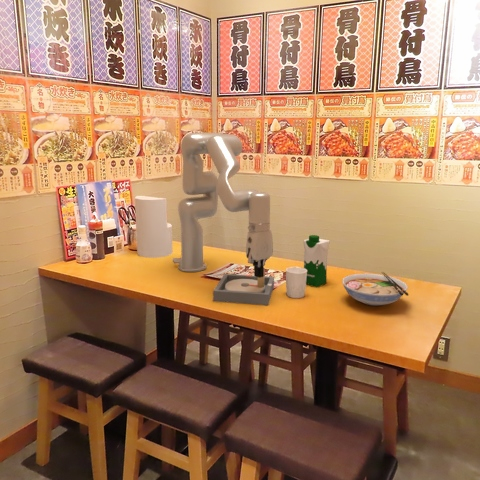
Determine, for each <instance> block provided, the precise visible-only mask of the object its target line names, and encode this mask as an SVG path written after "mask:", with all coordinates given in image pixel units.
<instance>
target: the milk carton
mask: <svg viewBox="0 0 480 480" xmlns="http://www.w3.org/2000/svg"><path fill="white" fill-rule="evenodd" d="M330 242H331V240H329V239H324V238H320V236H319V235H317V234H314V235H313V234H312V235H311V234H310V235H309V236H308V238H307V239H304V240H303V249H304V251H303V252H304V253H303V268H305V269H307V279H306V286H307V285H308V286H311V287H314V288H319V287H322V286H324V285H325V284H327V280H328V279H327V271H328V252H329V247H330Z"/></svg>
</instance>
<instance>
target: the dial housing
mask: <svg viewBox="0 0 480 480" xmlns="http://www.w3.org/2000/svg"><path fill="white" fill-rule="evenodd" d="M236 279H253V280H257V281H258V277H256V276H254V275H253V274H232V273H224V274H223V276H222V277H221V278H220V280H219V282H218V283H217V284H216V286H215V287H214V289H213V293H212V294H213V300H212V301H213V302H217V303H218V302H220V303H232V304H247V305H259V306H261V305H262V306H269V305H270V301H271V297H272V295H273V290H274V287H275V276H267V275H266V276H265V279H264V284H265V292H264V293H259V292H244V291H230V290H225V284H226V283H227V282H229V281H232V280H236Z"/></svg>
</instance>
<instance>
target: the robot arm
mask: <svg viewBox="0 0 480 480" xmlns="http://www.w3.org/2000/svg"><path fill="white" fill-rule="evenodd" d="M180 151H181V152H180V153H181V156H182V191H183V193H185V194H186V195H189V196H192V197H185V198H183V199H181V200H180V201H179V202H178V205H177V211H178V217H179V223H180V246H181V247H180V249H181V251H180V252H181V257H172V262H173V263H174V264H178V267H177V268H178V269H177V270H179V271H182V272H184V273H185V272H187V273H197V272H202V271H205V270H206V269H207V267H208V266H207V263H205V262H204V231H203V226H202V225H201V223H200V222H199V220H200V219H207V218H212V217H214V216H215V215H216V214H217V212H218V211H217V210H218V204H219V203H218V202H219V199H220V201H221V203H222V205H223V207H224V208H225V209H226V210H227V211H228V212H231V213H238V212H245V211H247V212H248V226H247V229H248V231H247V235H246V242H245V243H246V246H245V257H246V259H247V263H248V264H252V266H253V273H254V274H253V276H256V277H259V278H261V277H263V276H264V268H265V265H266V262H267V260H269V259H270V258H271V257H272V256H273V254H274V244H273V243H274V241H273V234H272V230H271V196H270V194H269V192H266V191H265V192H262V191H259V190H256V189H240V190H233V188H232V187H231V185H230V183H229V179H230V178H233V177H234V176H235V175H237V173H238V172H239V171H240V168H241V164H240V162H239V160H238V159H237V157H238V156H240V155H241V153H242V151H243V142H242V141H241V138H239V137H238V136H237V135H235V134H229V133H222V132H192V133H187V134H186V135H184V136H183V138H182V140H181V143H180ZM201 155H209V156H210V158H211V160H212V162H213V164H214V166H215V168H216V170H217V172H218V174H219V175H218V176H217V175H216V174H215V173H214V172H212V171H204V160H203V158H202V156H201ZM196 195H203V196H196Z"/></svg>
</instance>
